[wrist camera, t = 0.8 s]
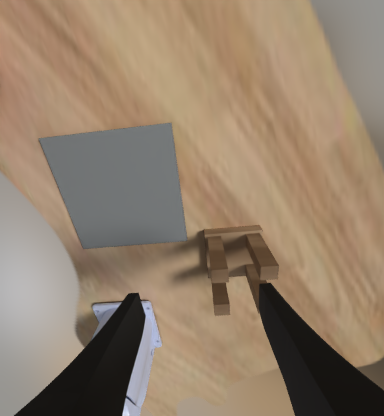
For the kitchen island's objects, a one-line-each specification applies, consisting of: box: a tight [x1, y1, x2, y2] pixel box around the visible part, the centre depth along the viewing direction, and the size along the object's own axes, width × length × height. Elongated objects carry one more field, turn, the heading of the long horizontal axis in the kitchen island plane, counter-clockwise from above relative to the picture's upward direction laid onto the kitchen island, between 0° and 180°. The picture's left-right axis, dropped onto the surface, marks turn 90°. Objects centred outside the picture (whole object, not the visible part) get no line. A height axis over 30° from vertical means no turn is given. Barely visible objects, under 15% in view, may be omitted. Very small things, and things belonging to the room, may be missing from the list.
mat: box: [39, 123, 187, 249], centre depth 19 cm, size 12×12×1 cm
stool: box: [204, 225, 279, 316], centre depth 19 cm, size 6×6×6 cm
